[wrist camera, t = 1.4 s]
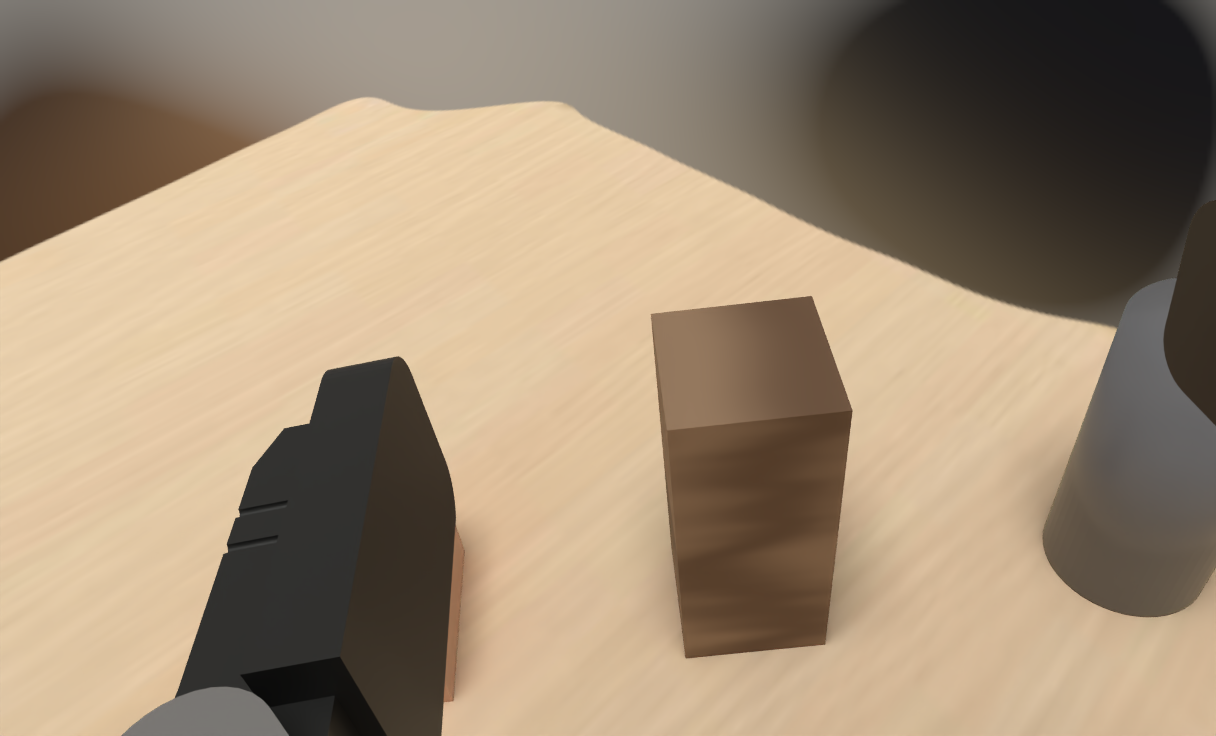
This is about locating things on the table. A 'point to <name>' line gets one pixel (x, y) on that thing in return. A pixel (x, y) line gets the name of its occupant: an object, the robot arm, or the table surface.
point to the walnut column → (751, 471)
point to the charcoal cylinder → (1138, 479)
